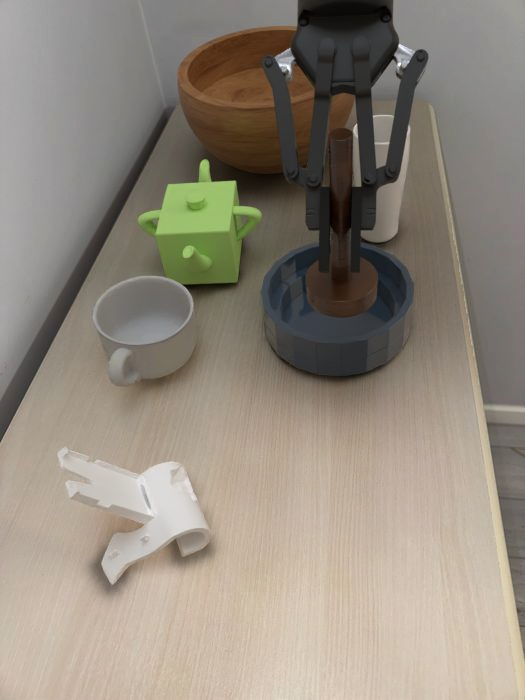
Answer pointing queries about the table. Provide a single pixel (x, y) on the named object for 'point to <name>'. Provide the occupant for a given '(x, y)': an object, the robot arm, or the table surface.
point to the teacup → (145, 328)
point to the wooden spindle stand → (341, 243)
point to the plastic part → (139, 508)
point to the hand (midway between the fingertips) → (339, 271)
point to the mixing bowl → (336, 333)
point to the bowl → (248, 99)
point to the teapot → (201, 230)
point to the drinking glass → (386, 194)
